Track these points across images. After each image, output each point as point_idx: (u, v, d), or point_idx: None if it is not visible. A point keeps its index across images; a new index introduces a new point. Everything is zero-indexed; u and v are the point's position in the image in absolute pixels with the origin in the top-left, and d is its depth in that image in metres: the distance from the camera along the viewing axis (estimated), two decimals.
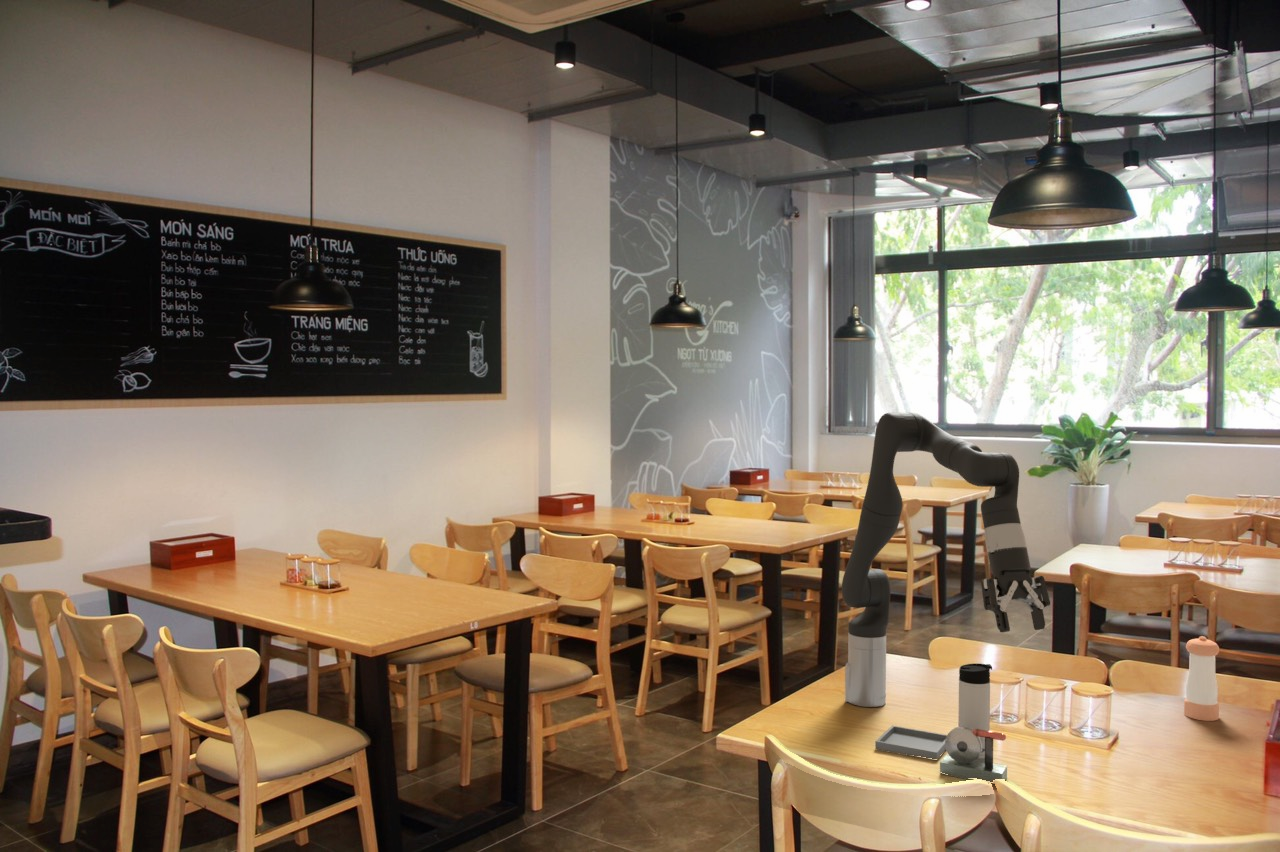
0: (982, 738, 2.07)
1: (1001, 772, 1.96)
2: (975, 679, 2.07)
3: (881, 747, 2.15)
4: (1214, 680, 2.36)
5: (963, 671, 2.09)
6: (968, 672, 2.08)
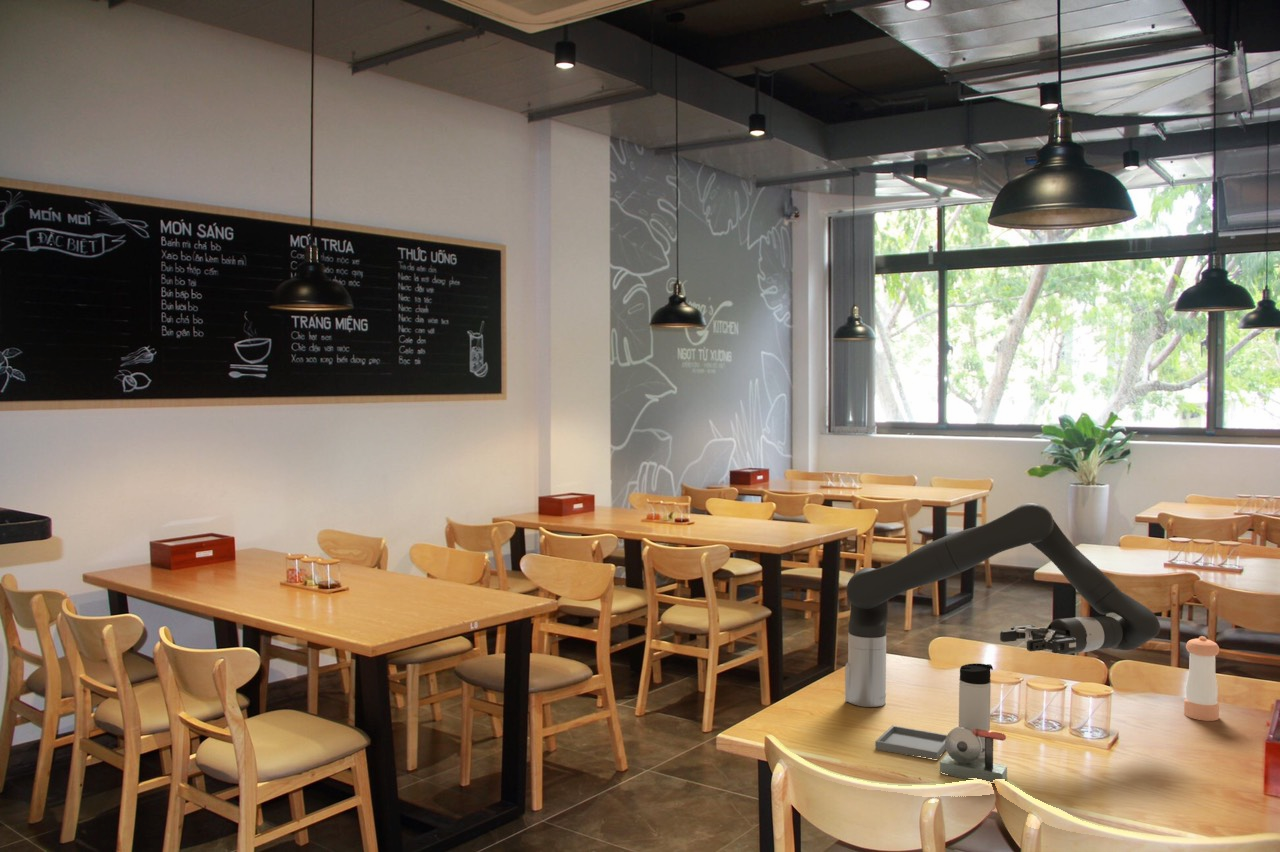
0: (983, 738, 2.07)
1: (1001, 772, 1.96)
2: (975, 679, 2.07)
3: (881, 747, 2.15)
4: (1214, 680, 2.36)
5: (964, 671, 2.08)
6: (969, 672, 2.07)
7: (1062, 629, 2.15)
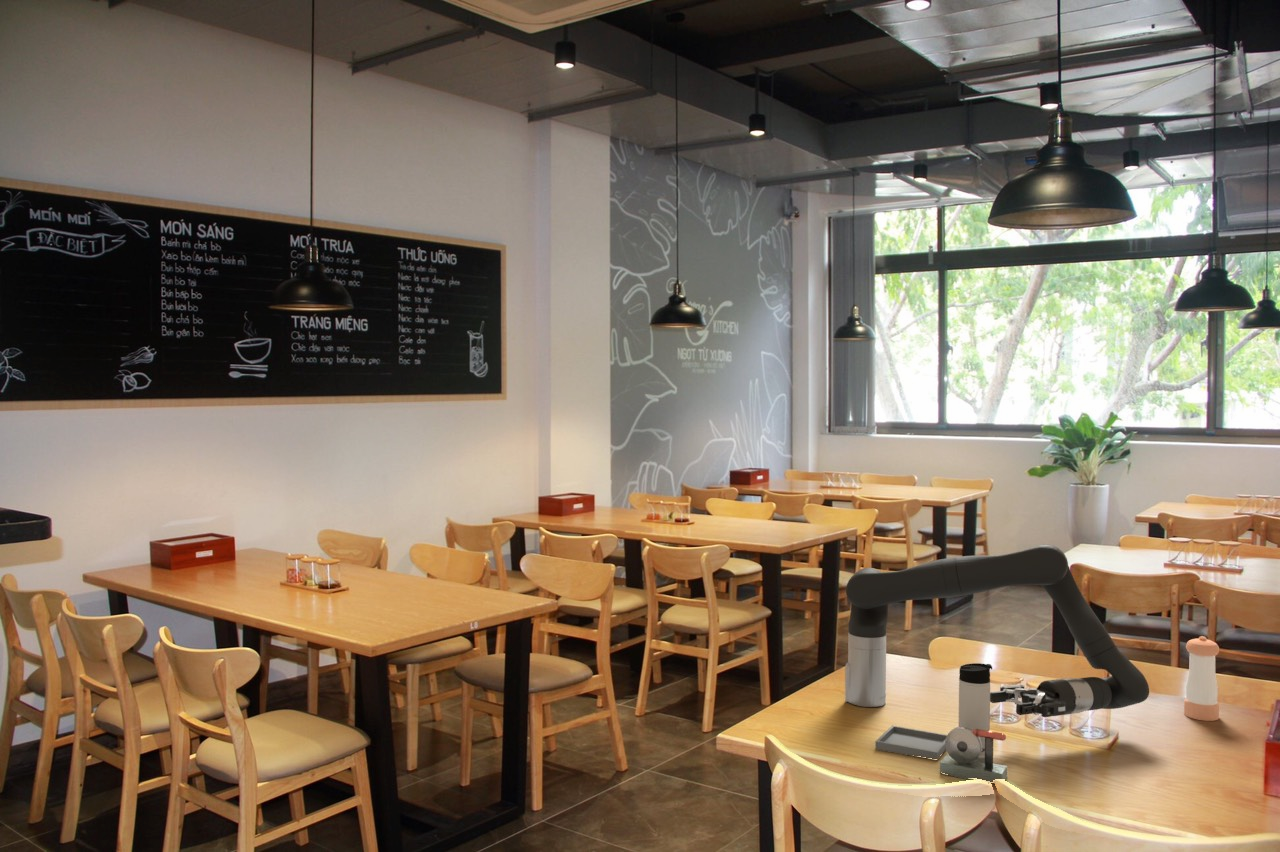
0: (982, 738, 2.07)
1: (1001, 772, 1.96)
2: (975, 678, 2.07)
3: (881, 747, 2.15)
4: (1214, 680, 2.36)
5: (963, 671, 2.09)
6: (968, 672, 2.08)
7: (1052, 691, 2.15)
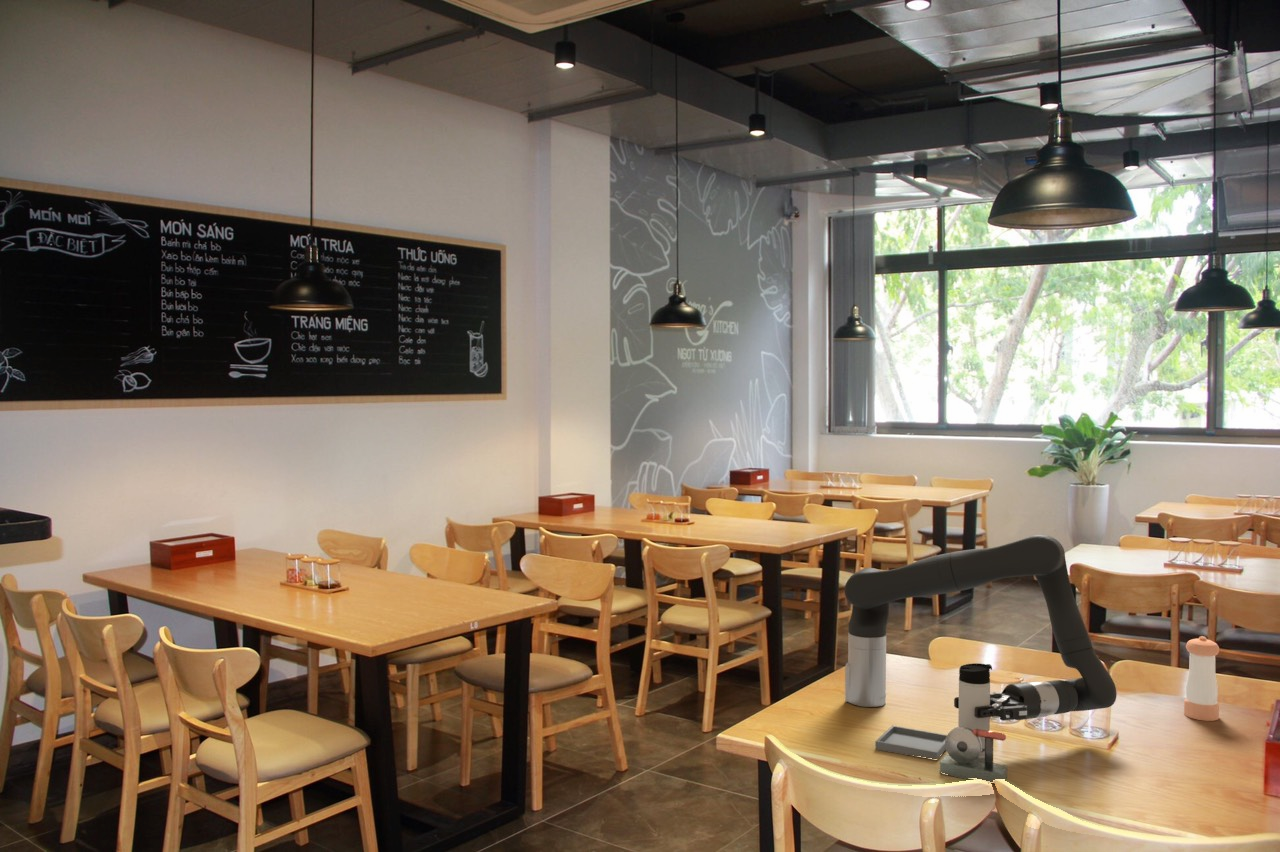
0: (982, 738, 2.07)
1: (1001, 772, 1.96)
2: (975, 679, 2.07)
3: (881, 747, 2.15)
4: (1214, 680, 2.36)
5: (963, 671, 2.08)
6: (968, 672, 2.07)
7: (1017, 695, 2.12)
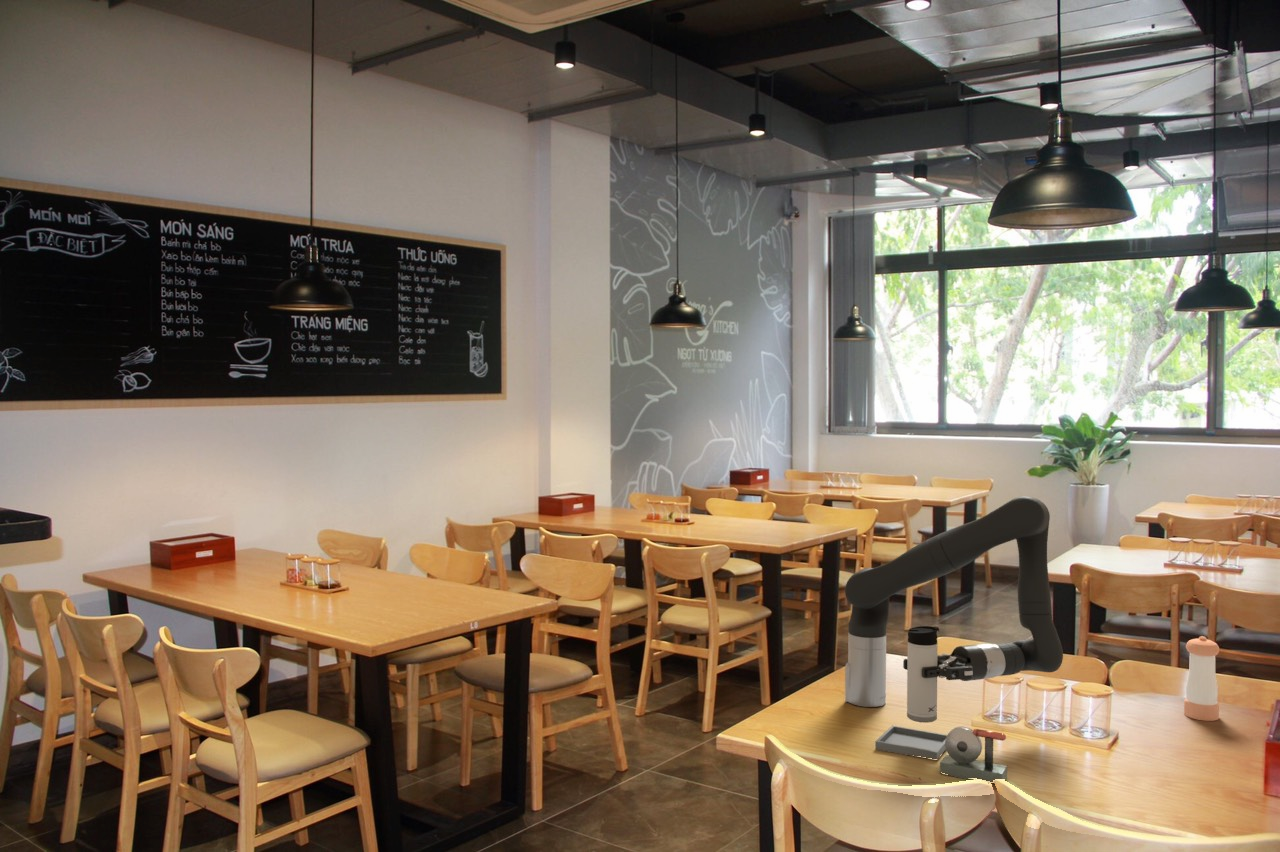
0: (930, 698, 2.13)
1: (1001, 772, 1.96)
2: (922, 640, 2.13)
3: (881, 747, 2.15)
4: (1214, 680, 2.36)
5: (911, 633, 2.14)
6: (916, 634, 2.13)
7: (964, 656, 2.18)
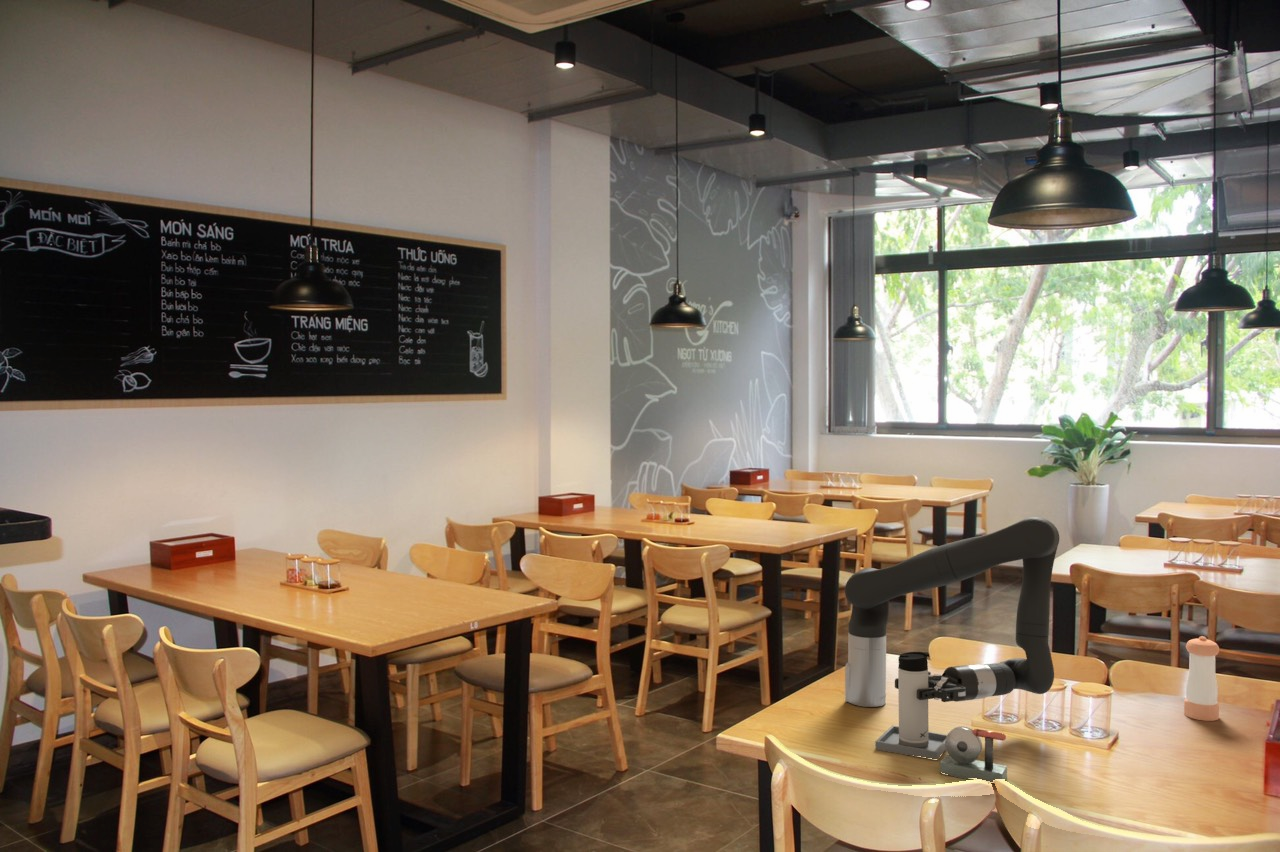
0: (921, 724, 2.14)
1: (1001, 772, 1.96)
2: (912, 666, 2.14)
3: (881, 747, 2.15)
4: (1214, 680, 2.36)
5: (901, 659, 2.16)
6: (906, 660, 2.15)
7: (955, 677, 2.19)
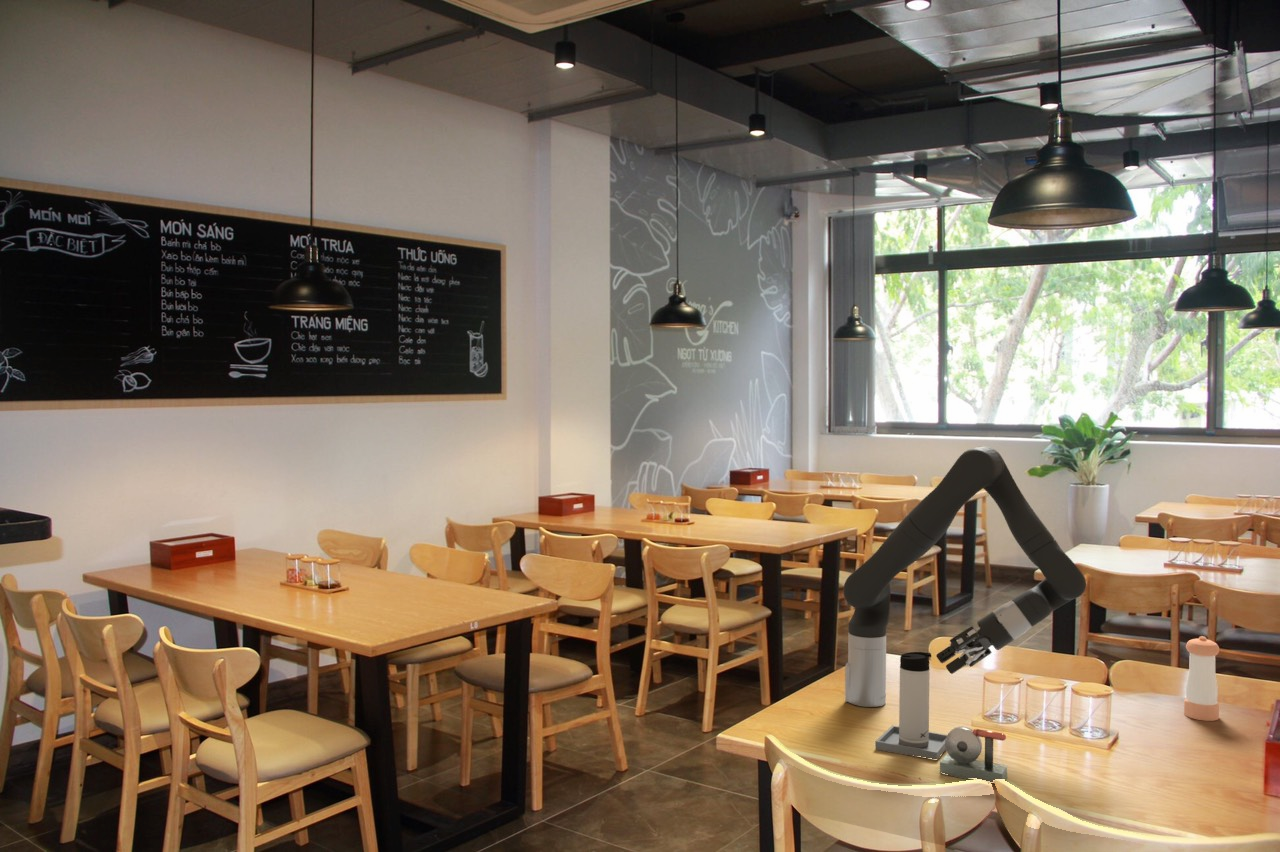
0: (921, 724, 2.14)
1: (1001, 772, 1.96)
2: (914, 666, 2.14)
3: (881, 747, 2.15)
4: (1214, 680, 2.36)
5: (903, 659, 2.16)
6: (908, 660, 2.15)
7: None
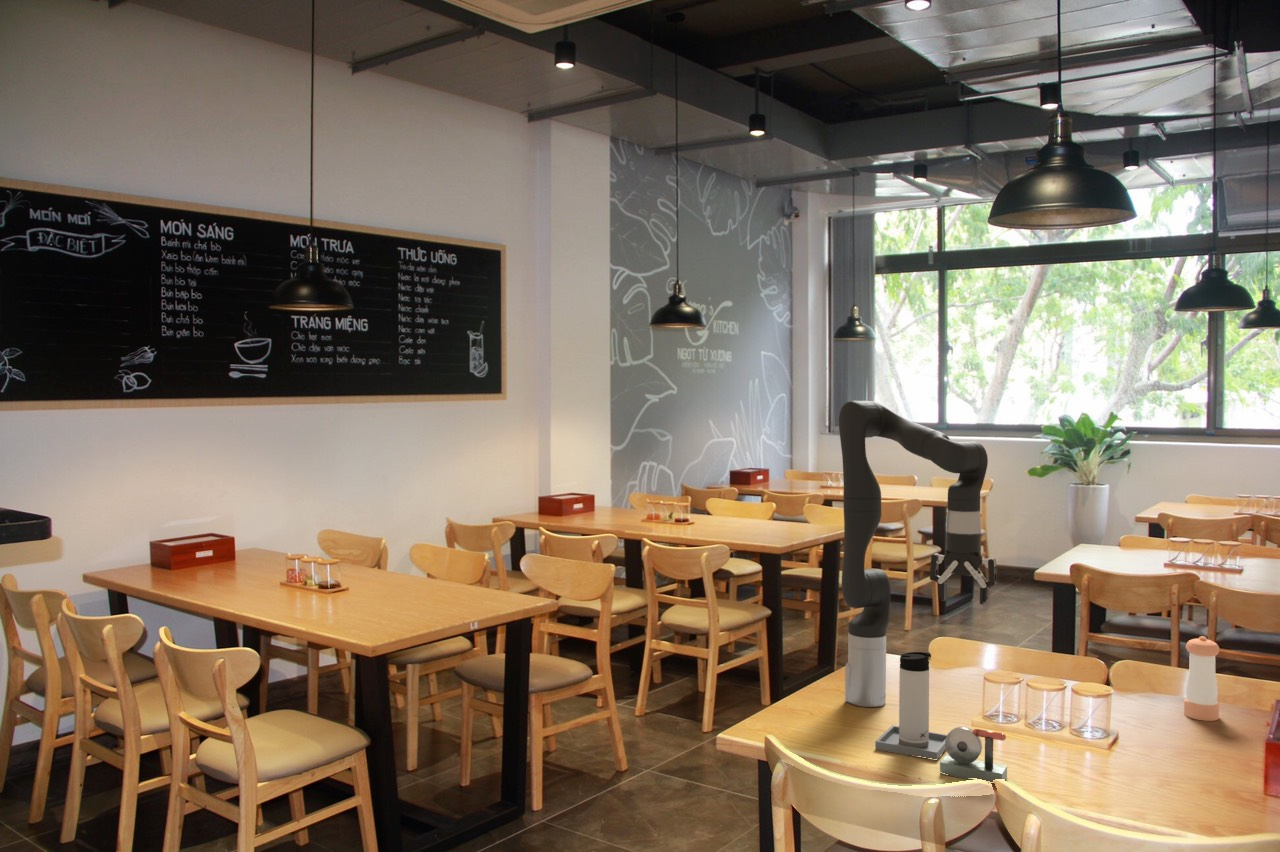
0: (921, 724, 2.14)
1: (1001, 772, 1.96)
2: (914, 666, 2.14)
3: (881, 747, 2.15)
4: (1214, 680, 2.36)
5: (903, 659, 2.16)
6: (907, 660, 2.15)
7: None
